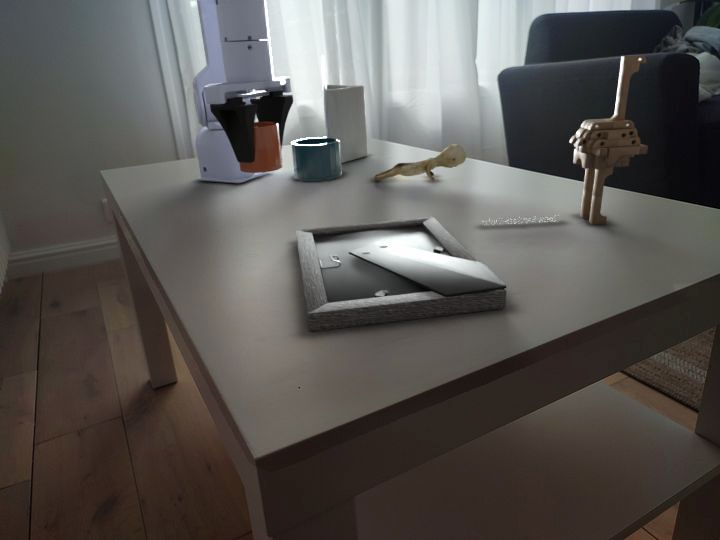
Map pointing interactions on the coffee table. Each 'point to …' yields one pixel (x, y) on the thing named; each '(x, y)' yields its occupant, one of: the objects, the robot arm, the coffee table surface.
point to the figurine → (427, 164)
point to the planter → (345, 117)
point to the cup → (265, 149)
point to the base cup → (316, 159)
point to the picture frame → (390, 274)
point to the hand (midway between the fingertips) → (259, 157)
